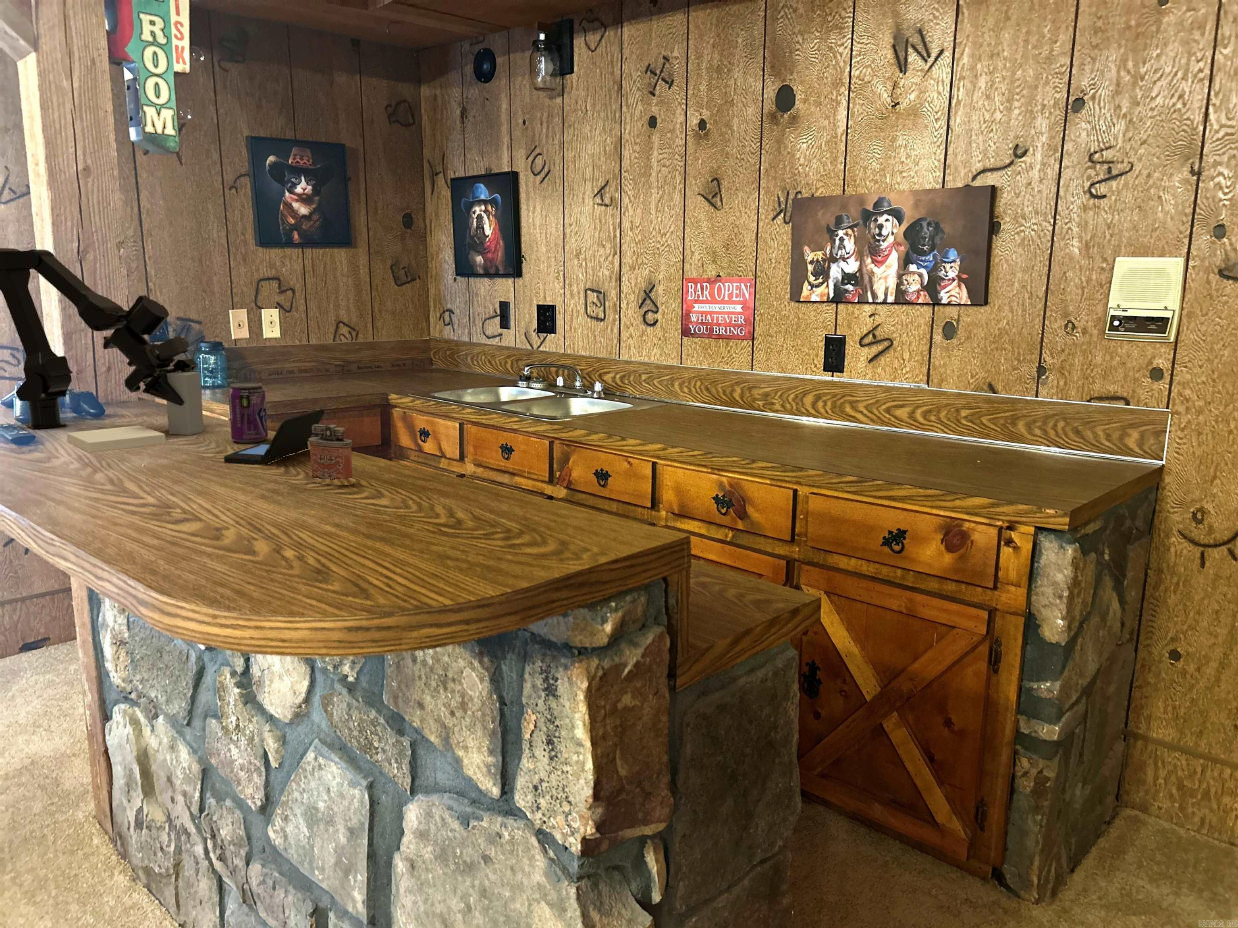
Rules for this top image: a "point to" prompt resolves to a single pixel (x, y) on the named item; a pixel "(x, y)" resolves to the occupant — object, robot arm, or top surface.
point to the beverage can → (248, 412)
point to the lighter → (330, 453)
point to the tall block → (185, 404)
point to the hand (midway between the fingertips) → (190, 402)
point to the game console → (280, 441)
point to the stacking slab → (115, 438)
